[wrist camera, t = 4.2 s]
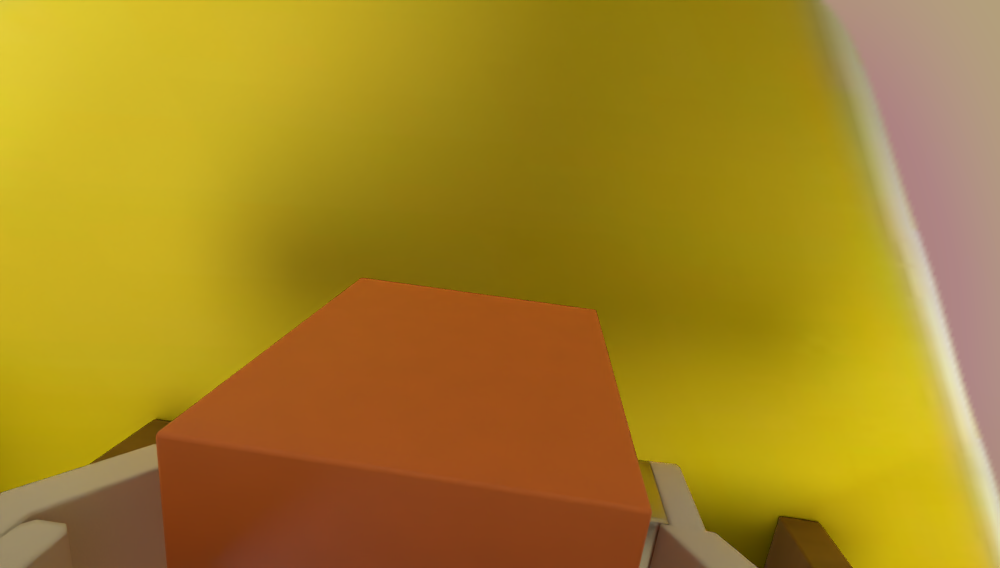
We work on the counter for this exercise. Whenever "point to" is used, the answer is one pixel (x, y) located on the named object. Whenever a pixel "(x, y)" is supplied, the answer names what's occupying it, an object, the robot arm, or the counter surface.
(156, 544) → the robot arm
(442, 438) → the orange box
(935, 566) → the counter surface
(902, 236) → the counter surface
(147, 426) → the shelf
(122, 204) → the counter surface
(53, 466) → the counter surface
